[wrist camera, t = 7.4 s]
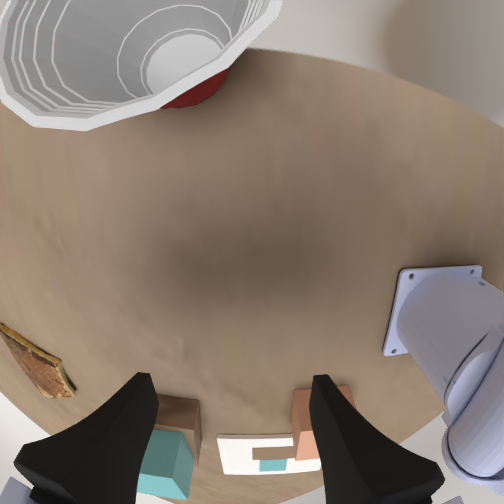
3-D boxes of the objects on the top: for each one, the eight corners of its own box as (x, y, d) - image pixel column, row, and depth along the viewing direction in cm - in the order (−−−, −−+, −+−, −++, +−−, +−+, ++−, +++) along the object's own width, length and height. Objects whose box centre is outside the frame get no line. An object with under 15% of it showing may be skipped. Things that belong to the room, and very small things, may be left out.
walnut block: (199, 398, 24) (193, 430, 20) (202, 437, 26) (197, 466, 22) (130, 386, 24) (116, 415, 20) (141, 427, 26) (132, 453, 22)
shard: (0, 318, 22) (-8, 326, 21) (30, 303, 22) (20, 311, 20) (49, 391, 25) (43, 400, 24) (86, 386, 25) (79, 397, 23)
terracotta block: (347, 384, 23) (361, 423, 18) (338, 417, 25) (348, 454, 20) (294, 389, 23) (300, 431, 19) (290, 421, 25) (295, 460, 20)
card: (330, 429, 25) (332, 434, 25) (318, 466, 28) (319, 470, 27) (217, 434, 25) (216, 439, 25) (224, 470, 28) (224, 474, 27)
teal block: (182, 432, 20) (172, 478, 16) (194, 459, 22) (187, 500, 17) (130, 426, 20) (114, 467, 16) (147, 454, 22) (136, 491, 17)
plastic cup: (225, 173, 18) (176, 192, 6) (91, 118, 16) (-41, 101, 5) (298, 37, 15) (347, -80, 3) (161, -6, 13) (97, -101, 2)
